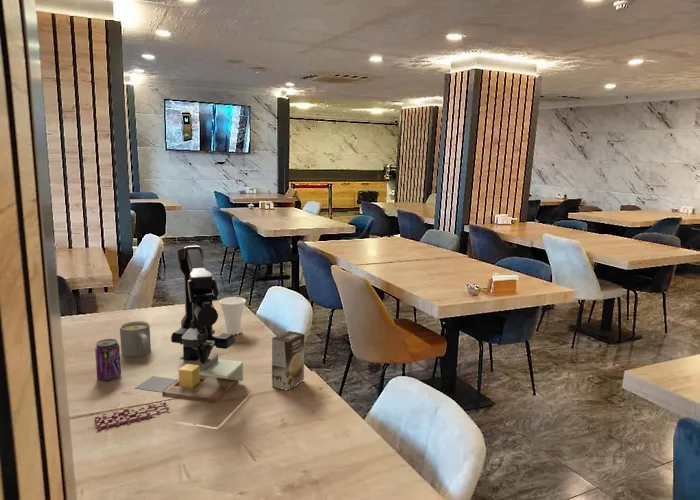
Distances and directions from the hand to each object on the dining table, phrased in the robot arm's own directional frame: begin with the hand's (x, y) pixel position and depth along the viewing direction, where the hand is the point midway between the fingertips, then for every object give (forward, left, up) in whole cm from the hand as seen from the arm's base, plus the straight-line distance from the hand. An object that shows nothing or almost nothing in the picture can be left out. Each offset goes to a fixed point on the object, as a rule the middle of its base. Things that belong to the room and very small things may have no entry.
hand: (203, 364), depth 160 cm
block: (0, -5, -8) cm, 9 cm away
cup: (-49, -15, -8) cm, 52 cm away
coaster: (+2, -16, -8) cm, 18 cm away
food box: (-11, +23, -8) cm, 27 cm away
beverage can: (+1, -34, -8) cm, 35 cm away
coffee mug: (-19, -38, -8) cm, 43 cm away
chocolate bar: (+20, -10, -9) cm, 24 cm away
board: (0, -1, -8) cm, 8 cm away
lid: (-1, +6, -6) cm, 9 cm away
